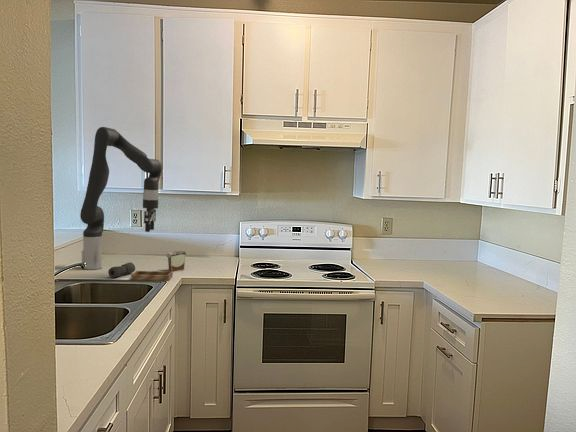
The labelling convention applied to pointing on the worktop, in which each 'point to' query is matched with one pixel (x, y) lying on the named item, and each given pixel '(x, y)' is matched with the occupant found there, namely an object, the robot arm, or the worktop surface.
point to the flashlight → (122, 269)
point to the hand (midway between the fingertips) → (149, 230)
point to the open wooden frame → (152, 275)
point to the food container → (176, 260)
